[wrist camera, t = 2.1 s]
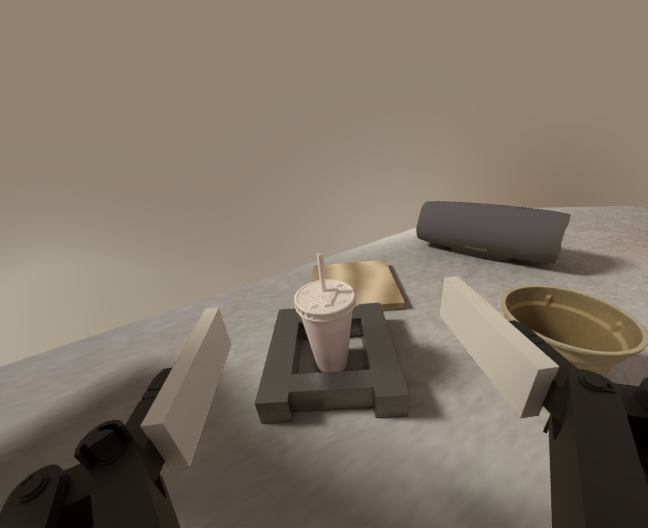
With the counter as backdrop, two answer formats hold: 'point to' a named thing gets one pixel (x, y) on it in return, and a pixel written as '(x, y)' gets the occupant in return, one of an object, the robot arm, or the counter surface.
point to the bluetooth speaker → (493, 230)
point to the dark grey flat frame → (332, 387)
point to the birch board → (367, 282)
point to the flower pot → (577, 325)
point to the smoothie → (327, 319)
